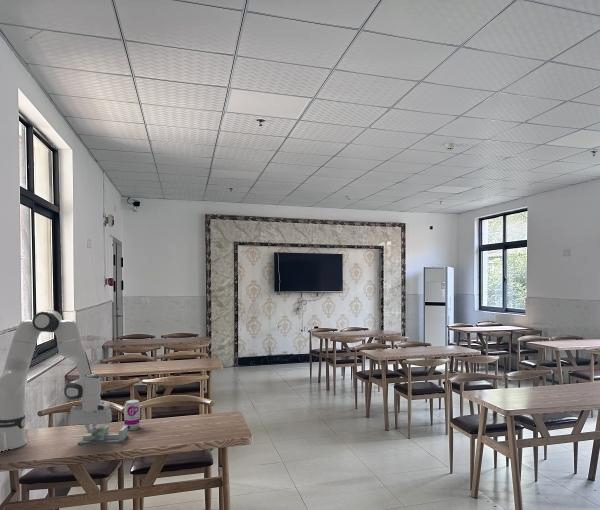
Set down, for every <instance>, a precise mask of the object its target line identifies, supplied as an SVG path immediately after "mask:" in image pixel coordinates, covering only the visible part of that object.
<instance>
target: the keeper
mask: <svg viewBox="0 0 600 510" xmlns="http://www.w3.org/2000/svg"><path fill="white" fill-rule="evenodd" d="M105 434H109V425H96V427H95V428H94V429H93V430H92V433H91V435H92V436H91V441H97V440H104V439H105Z"/></svg>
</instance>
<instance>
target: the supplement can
mask: <svg viewBox="0 0 600 510" xmlns="http://www.w3.org/2000/svg"><path fill="white" fill-rule="evenodd" d="M123 410H124V415H123V416H124V419H123V420H124V421H123V422H124V423H123V426H128V431H134V430H137V429H139V428H140V426H141V420H140V419H141V402H140V400H139V399H129V400H126V401H125V403H124V409H123Z"/></svg>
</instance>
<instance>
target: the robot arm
mask: <svg viewBox="0 0 600 510" xmlns="http://www.w3.org/2000/svg"><path fill="white" fill-rule="evenodd" d="M41 333H53V334H54V335H55V337H56V344H57V349H58V353H59V355H60V356H62V357H64V358H65V359H69V360H71V361H73V362H74V363H75V366H76V369H77V372H78V375H79V378H78V379H75V380H73V381H70V382H68V383H67V384H65V386H64V390H63V393H64V396H65V398H67V400H70V401H74V400H79V399H81V405H78V406H77V405H75V406H72V407H71V408H70V419H69V424H70V426H81V425H82V426H83V425H84V427H85V429H86V430H87V434H92V430H93V429H94V428H95V427H96V426H98V425H108V424H110V423H111V422H112V421H113V420H112V419H113V415H112V409H111V407H110V406H111V403H110V402H109V401H104V400H102V398H101V391H102V384H101V377H100V375H98V374H96V373H93V372H92V369H91V365H90V361H89V358H88V355H87V352H86V350H85V349H84V347H83V345H82V341H81V336H80V331H79V328H78V325H77V323H76V322H75V321H74V320H72V319H64V315H63V314H62V313H61V312H59V311H57V310H52V309H51V310H49V309H48V310H42V311H39V312H37V313H36V314H35V315H34V316H33V318H32V319H24V320H22V321H20V323H19V324H18V326H17V328H16V330H15V332H14V335H13V337H12V340H11V344H10V347H9V349H8V353H7V356H6V360H5V364H4V368H3V370H2V374H1V375H0V453H2V452H1V451H3V452H6V451H9V450H8V449H10V450H13V449H17V448H21V447H23V446H25V445H26V444H28V441H27V437H26V431H25V430H26V428H25V427H26V414H25V407H26V403H25V402H26V394H25V393H26V391H25V390H26V389H25V388H26V379H27V377H28V373H29V369H30V366H31V362H32V359H33V356H34V352H35V350H36V345H37V343H38V339H39V336H40V335H41ZM90 425H92V428H91V427H90ZM5 450H6V451H5Z"/></svg>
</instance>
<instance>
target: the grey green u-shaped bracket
mask: <svg viewBox="0 0 600 510" xmlns="http://www.w3.org/2000/svg"><path fill="white" fill-rule="evenodd" d="M128 431H129V430H128V426H124V425H123V426H122V427H121V428H120V429H119V430H118V433H108V434H105V439H104V440H97V441H91V436H92V434H83V435H82V439H80V440H79V441H78V442H77V446H78V445H79V446H83V445H87V446H88V445H106V444H107V445H108V444H110V445H111V444H113V445H114V444H123V443H124V442H125V441H126V439H128V437H129V434H128Z"/></svg>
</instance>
